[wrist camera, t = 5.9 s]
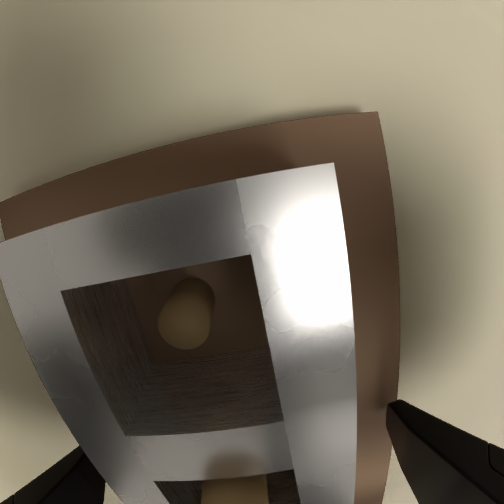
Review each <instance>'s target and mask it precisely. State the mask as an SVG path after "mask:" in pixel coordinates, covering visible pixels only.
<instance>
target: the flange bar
mask: <svg viewBox="0 0 504 504" xmlns="http://www.w3.org/2000/svg"><path fill="white" fill-rule="evenodd" d="M248 254H251V256H252V261H253V266H254V271H255V276H256V281H257V287H258V292H259V297H260V302H261V307H262V312H263V317H264V322H265V327H266V332H267V337H268V342H269V345H267V346H261V347H256V348H250V349H245V350H239V351H233V352H227V353H221V354H214V355H208V356H201V357H194V358H187V359H179V360H171V361H163V362H155V361H154V359H153V356H152V353H151V350H150V348H149V345H148V342H147V339H146V336H145V334H144V331H143V328H142V325H141V322H140V319H139V316H138V313H137V309H136V306H135V303H134V300H133V297H132V293H131V290H130V287H129V283H128V280H127V278H130V277H135V276H140V275H145V274H150V273H156V272H161V271H166V270H171V269H176V268H181V267H187V266H192V265H197V264H202V263H207V262H212V261H217V260H223V259H228V258H233V257H238V256H243V255H248ZM0 278H1V282H2V285H3V288H4V291H5V294H6V297H7V300H8V303H9V306H10V308H11V311H12V314H13V316H14V319H15V322H16V324H17V327H18V329H19V332H20V334H21V337H22V339H23V341H24V344H25V346H26V348H27V351H28V353H29V355H30V357H31V359H32V361H33V364H34V366H35V368H36V370H37V372H38V374H39V376H40V378H41V380H42V382H43V384H44V386H45V388H46V390H47V391H48V393H49V395H50V397H51V399H52V401H53V402H54V404H55V406H56V408H57V409H58V411H59V413H60V415H61V416H62V418H63V420H64V421H65V423H66V425H67V426H68V428H69V429H70V431H71V433H72V434H73V436H74V437H75V439H76V440H77V442H78V443H79V445H80V446H81V448H82V449H83V451H84V452H85V454H86V455H87V457H88V458H89V459H90V461H91V462H92V464H93V465H94V466H95V468H96V469H97V470H98V472H99V473H100V474H101V476H102V477H103V478H104V480H105V481H106V482H107V483H108V485H109V486H110V487H111V488H112V490H113V491H114V492H115V493H116V494H117V496H118V497H119V498H120V499H121V500H122V502H123V503H124V504H201V498H202V487H203V480H212V479H225V478H235V477H244V476H253V475H260V474H266V479H267V489H268V500H269V504H354V495H355V477H356V451H357V385H356V357H355V338H354V322H353V309H352V297H351V286H350V275H349V266H348V257H347V248H346V240H345V232H344V225H343V217H342V210H341V204H340V197H339V191H338V184H337V178H336V173H335V167H334V163H327V164H320V165H314V166H307V167H301V168H295V169H289V170H283V171H277V172H271V173H266V174H260V175H255V176H250V177H244V178H239V179H234V180H229V181H224V182H219V183H215V184H210V185H205V186H200V187H196V188H191V189H187V190H182V191H178V192H174V193H169V194H165V195H161V196H157V197H153V198H149V199H145V200H141V201H137V202H133V203H129V204H125V205H121V206H118V207H114V208H110V209H106V210H103V211H99V212H96V213H92V214H88V215H85V216H82V217H78V218H75V219H71V220H68V221H65V222H61V223H58V224H55V225H52V226H48V227H45V228H42V229H39V230H36V231H33V232H30V233H27V234H24V235H21V236H18V237H15V238H12V239H9V240H6V241H3V242H0Z"/></svg>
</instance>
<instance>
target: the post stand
mask: <svg viewBox="0 0 504 504" xmlns="http://www.w3.org/2000/svg"><path fill="white" fill-rule="evenodd" d="M327 163H334V167H335V173H336V178H337V184H338V191H339V197H340V204H341V210H342V217H343V225H344V232H345V240H346V248H347V257H348V266H349V275H350V286H351V297H352V309H353V322H354V338H355V357H356V385H357V451H356V477H355V495H354V504H382V500H383V496H384V491H385V486H386V480H387V475H388V469H389V463H390V456H391V449H392V442H391V439H390V437H389V434H388V431H387V428H386V409H387V404H388V403H390V402H393V401H396V400H397V394H398V379H399V359H400V285H399V264H398V249H397V236H396V225H395V216H394V207H393V198H392V191H391V183H390V176H389V170H388V163H387V157H386V151H385V146H384V140H383V135H382V130H381V125H380V120H379V115H378V112H364V113H352V114H341V115H331V116H322V117H314V118H306V119H298V120H291V121H284V122H278V123H271V124H265V125H259V126H253V127H248V128H242V129H237V130H232V131H227V132H222V133H217V134H212V135H208V136H203V137H199V138H194V139H190V140H186V141H181V142H177V143H173V144H169V145H165V146H162V147H158V148H154V149H150V150H147V151H143V152H139V153H136V154H132V155H129V156H126V157H122V158H119V159H116V160H112V161H109V162H106V163H103V164H100V165H97V166H93V167H90V168H87V169H85V170H82V171H79V172H76V173H73V174H70V175H67V176H65V177H62V178H59V179H56V180H54V181H51V182H48V183H46V184H43V185H41V186H38V187H36V188H33V189H31V190H28V191H26V192H23V193H21V194H18V195H16V196H14V197H11V198H9V199H7V200H5V201H2V202H0V218H1V223H2V228H3V232H4V236H5V241H6V240H9V239H12V238H15V237H18V236H21V235H24V234H27V233H30V232H33V231H36V230H39V229H42V228H45V227H48V226H52V225H55V224H58V223H61V222H65V221H68V220H71V219H75V218H78V217H82V216H85V215H88V214H92V213H96V212H99V211H103V210H106V209H110V208H114V207H118V206H121V205H125V204H129V203H133V202H137V201H141V200H145V199H149V198H153V197H157V196H161V195H165V194H169V193H174V192H178V191H182V190H187V189H191V188H196V187H200V186H205V185H210V184H215V183H219V182H224V181H229V180H234V179H239V178H244V177H250V176H255V175H260V174H266V173H271V172H277V171H283V170H289V169H295V168H301V167H307V166H314V165H320V164H327ZM127 280H128V283H129V287H130V290H131V293H132V297H133V300H134V303H135V306H136V309H137V313H138V316H139V319H140V322H141V325H142V328H143V331H144V334H145V336H146V339H147V342H148V345H149V348H150V350H151V353H152V356H153V359H154V361H155V362H163V361H171V360H179V359H187V358H194V357H201V356H208V355H214V354H221V353H227V352H233V351H239V350H245V349H250V348H256V347H261V346H267V345H269V342H268V337H267V332H266V327H265V322H264V317H263V312H262V307H261V302H260V297H259V292H258V287H257V281H256V276H255V271H254V266H253V261H252V256H251V254H248V255H243V256H238V257H233V258H228V259H223V260H217V261H212V262H207V263H202V264H197V265H192V266H187V267H181V268H176V269H171V270H166V271H161V272H156V273H150V274H145V275H140V276H135V277H130V278H127ZM201 504H269V500H268V489H267V479H266V474H260V475H253V476H244V477H235V478H225V479H212V480H203V487H202V498H201Z"/></svg>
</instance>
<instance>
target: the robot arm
mask: <svg viewBox="0 0 504 504" xmlns="http://www.w3.org/2000/svg"><path fill="white" fill-rule="evenodd" d="M386 428H387V431H388V434H389V437H390V439H391V442H392V445H393V448H394V450H395V453H396V456H397V459H398V462H399V464H400V467H401V469H402V471H403V473H404V475H405V477H406V479H407V481H408V483H409V485H410V487H411V489H412V491H413V493H414V495H415V497H416V499H417V501H418V503H419V504H504V449H503V448H500V447H498V446H496V445H493V444H491V443H489V444H488V442H487V441H484V440H482V439H480V438H478V437H476V436H474V435H472V434H469V433H467V432H465V431H463V430H461V429H459V428H457V427H455V426H453V425H451V424H449V423H447V422H445V421H443V420H441V419H439V418H437V417H435V416H433V415H431V414H429V413H427V412H425V411H423V410H421V409H419V408H417V407H415V406H413V405H411V404H409V403H407V402H405V401H403V400H400V399H399V400H396V401H393V402H390V403H388V404H387V409H386ZM105 483H106V481H105V480H104V478H103V477H102V476H101V474H100V473H99V472H98V470H97V469H96V468H95V466H94V465H93V464H92V462H91V461H90V459H89V458H88V457H87V455H86V454H85V452H84V451H83V449H82V448H81V446H80V445H79V446H78V447H77V448H76V449H74V450H73V451H72V452H70V453H69V454H68V455H66V456H65V457H64V458H62V459H61V460H60V461H58V462H57V463H56V464H54V465H53V466H52V467H50V468H49V469H48V470H46V471H45V472H44V473H42V474H41V475H39V476H38V477H37V478H35V479H34V480H33V481H31V482H30V483H28V484H27V485H26V486H24V487H23V488H21V489H20V490H19V491H17V492H16V493H15V494H14V495H12V496H10V497H9V498H7V499H6V500H4V501H3V502H1V503H0V504H103V502H104V493H105Z"/></svg>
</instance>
